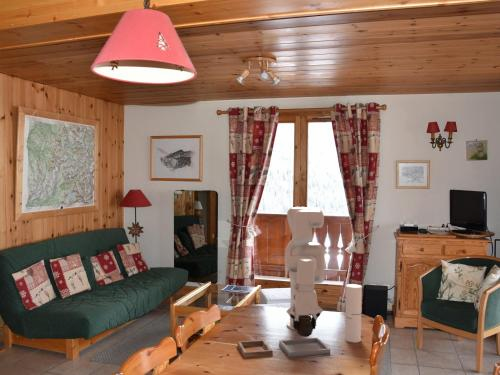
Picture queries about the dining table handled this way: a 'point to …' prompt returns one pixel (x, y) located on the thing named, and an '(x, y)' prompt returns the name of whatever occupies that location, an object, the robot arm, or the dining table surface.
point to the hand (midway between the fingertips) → (304, 328)
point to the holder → (255, 353)
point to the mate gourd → (304, 326)
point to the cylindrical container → (353, 313)
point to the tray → (304, 347)
